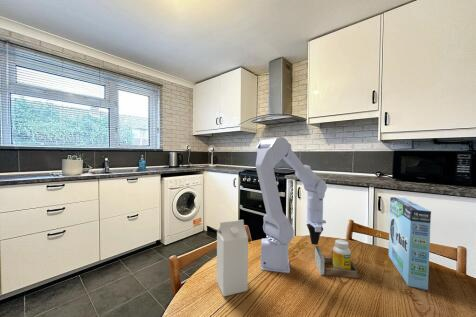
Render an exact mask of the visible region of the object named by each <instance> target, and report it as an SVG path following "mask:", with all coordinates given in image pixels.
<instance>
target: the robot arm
mask: <svg viewBox="0 0 476 317" xmlns="http://www.w3.org/2000/svg"><path fill="white" fill-rule="evenodd" d="M255 150H256V159H255V160H256V161H255V169H256V173H257V177H258V178H257V179H258V182H259V186H260V191H261V195H262V200H263V204H264V208H265V212H266V214H265V215H264V216H263V217H262V218H263V225H262V229H263V232H264V233H265V235H266V237H265V238H261V242H260V243H261V244H260V258H259V259H260V270H261V271H262V270H263V271H270V272H278V273H284V274H290V273H291V269H290V267H291V266H290V260H289V244H290V243H291V241H292V240H293V238H294V236H295V235H294V234H295V233H294V232H295V230H294V227H293V226H292V225H291V222H290V219H289V218H288V216H286V215H285V213H284V211H283V207H282V202H281V198H280V193H279V188H278V184H277V180H276V174H275V170H274V168H275V166H276V165H277V164H278V163H279V162H280V161H281V160H283V161H284V162H285V163H286V164H288V166H290V167H291V168H292V169H293V170H294V171H295V172H294V175H295V176H296V178H297V179H298V180H299V181H300V182H301V183H302V184H303V188H304V191H306V193H307V194H306V195H307V196H306V200H307V202H306V203H307V206H306V227H307V229H308V232H309V237H310V242H311V245H315V246H319V241H320V237H321V234H322V233H323V231H324V228H323V224H326V223H327V221H326V220H324V198H325V193H326V191H327V188H328V186H327V183H326V181H325V180H324V179H322V178H319V176H318V175H317V174H316V173H315V172H314V171H313V170H312V167H311V166H310V165H308V164H303V163H302V162H301V160H300V159H299V157H298V156H297V155H296V153H295V152H294V151H293V149H292V144H291V143H290V142H289V141H288V139H286V138H285V137H283V136H280V137H275V138H273V137H272V138H263V139H261V140H260V141H259V143H258V145H256V147H255Z"/></svg>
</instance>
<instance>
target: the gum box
mask: <svg viewBox="0 0 476 317" xmlns="http://www.w3.org/2000/svg"><path fill="white" fill-rule="evenodd" d="M389 198H390V199H389V200H390V203H389V204H390V205H389V225H388V226H389V227H388V228H389V230H388V231H389V232H388V234H389V235H388V257H389V259H390V260H391V262H392V263H393V265H394V266H395V268H396V269H397V271H398V272H399V275H400V276H401V277H402V279H403V280H404V282H405V283H406V285H407V286H408V287H411V288H416V289H420V290H424V291H429V272H430V249H431V248H430V247H431V246H430V245H431V244H430V242H431V218H432V210H429V209H427V208H425V207H423V206H421V205H419V204H417V203H415V202H413V201H411V200H409V199H407V198H406V197H389Z"/></svg>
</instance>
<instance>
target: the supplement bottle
mask: <svg viewBox="0 0 476 317" xmlns="http://www.w3.org/2000/svg"><path fill="white" fill-rule="evenodd" d="M349 245H350V244H349V242H348V241H347V240H344V239H339V238H338V239H335V241H334V246H333V247H332V258H333V264H332V268H335V269H344V270H351V261H352V252H351V249H350V248H349Z"/></svg>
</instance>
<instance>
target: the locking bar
mask: <svg viewBox="0 0 476 317" xmlns="http://www.w3.org/2000/svg"><path fill="white" fill-rule="evenodd" d="M314 248H315V249H314V261H315V264H316V268H317V270H318V272H319V275H320V276H325V264H326V263H325V260H324V257H325V256H323V253H322V250H321V249H320V246H319V245H315V246H314Z"/></svg>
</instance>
